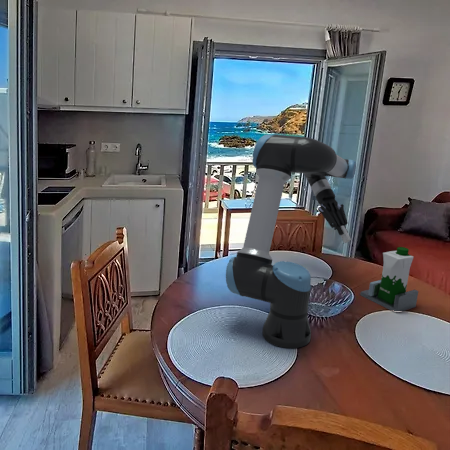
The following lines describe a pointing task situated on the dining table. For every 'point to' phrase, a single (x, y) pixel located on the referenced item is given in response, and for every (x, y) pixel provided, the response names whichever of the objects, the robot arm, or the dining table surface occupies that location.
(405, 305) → the vise base
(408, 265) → the soya milk
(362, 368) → the dining table surface
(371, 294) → the block
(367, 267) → the dining table surface
